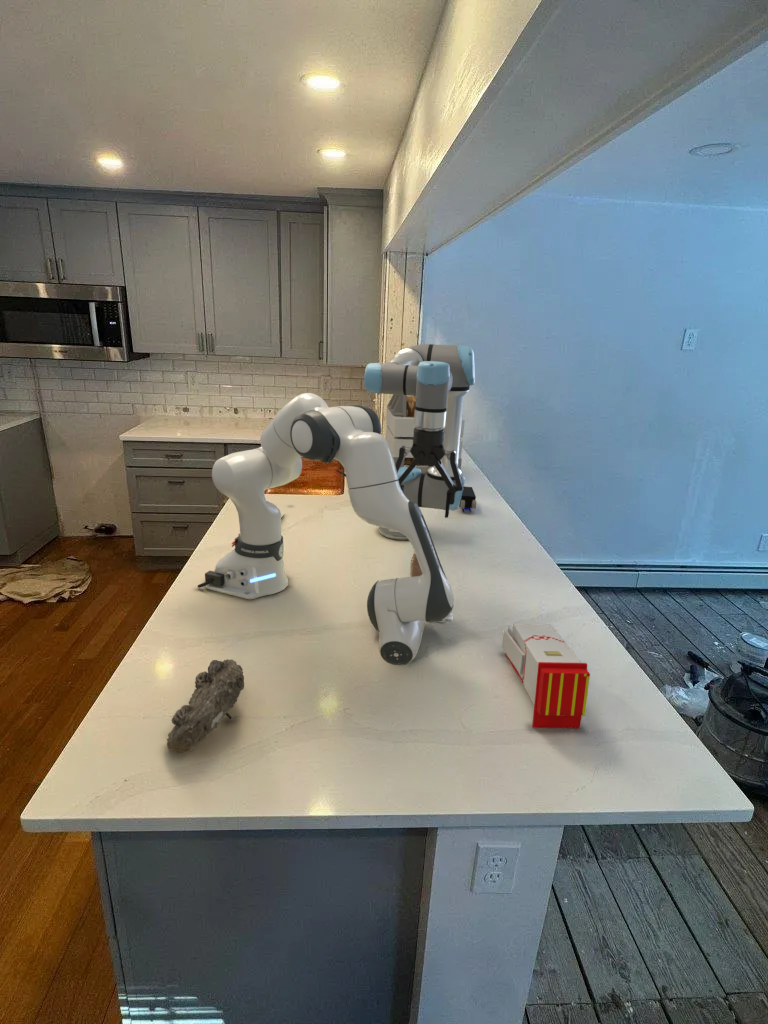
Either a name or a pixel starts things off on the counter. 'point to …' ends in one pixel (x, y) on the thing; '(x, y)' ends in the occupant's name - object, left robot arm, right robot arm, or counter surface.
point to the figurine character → (467, 499)
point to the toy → (548, 674)
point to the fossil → (206, 705)
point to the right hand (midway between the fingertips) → (423, 513)
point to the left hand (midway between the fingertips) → (415, 590)
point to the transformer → (405, 427)
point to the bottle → (415, 567)
